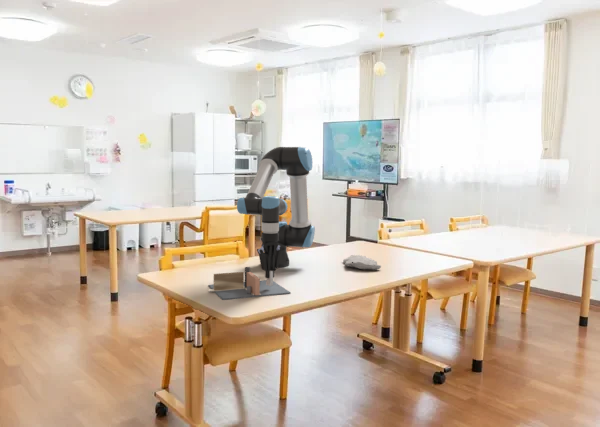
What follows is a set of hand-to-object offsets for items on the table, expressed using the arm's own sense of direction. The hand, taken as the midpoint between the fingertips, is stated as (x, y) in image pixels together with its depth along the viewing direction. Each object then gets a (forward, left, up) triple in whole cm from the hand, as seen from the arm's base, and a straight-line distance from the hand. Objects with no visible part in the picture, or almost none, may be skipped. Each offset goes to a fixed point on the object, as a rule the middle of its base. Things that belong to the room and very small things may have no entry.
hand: (269, 285), depth 229 cm
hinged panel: (+2, -8, -2) cm, 9 cm away
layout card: (-4, -8, -3) cm, 10 cm away
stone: (-34, +63, -3) cm, 72 cm away
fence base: (-6, -15, -2) cm, 16 cm away
